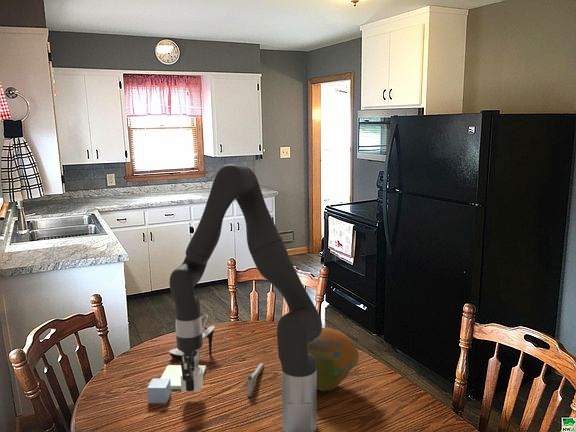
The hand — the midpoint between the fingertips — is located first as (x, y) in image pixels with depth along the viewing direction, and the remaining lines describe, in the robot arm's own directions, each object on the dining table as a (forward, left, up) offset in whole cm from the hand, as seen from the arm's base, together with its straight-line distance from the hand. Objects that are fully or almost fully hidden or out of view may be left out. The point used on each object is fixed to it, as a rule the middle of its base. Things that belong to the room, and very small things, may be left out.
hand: (192, 385), depth 145 cm
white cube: (0, 0, -1) cm, 1 cm away
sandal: (+28, +6, -5) cm, 29 cm away
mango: (+8, -40, -5) cm, 41 cm away
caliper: (+12, -18, -5) cm, 22 cm away
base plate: (+12, +6, -5) cm, 14 cm away
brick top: (+1, +10, -5) cm, 11 cm away
